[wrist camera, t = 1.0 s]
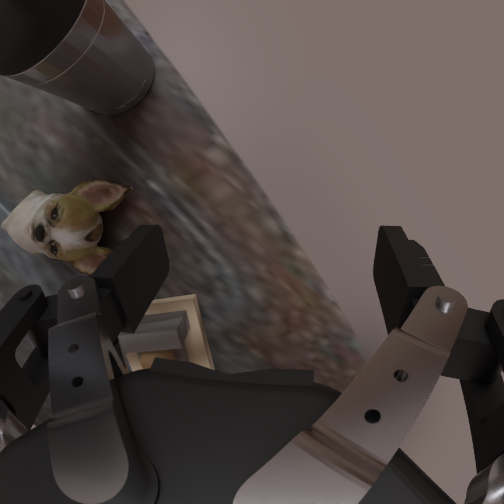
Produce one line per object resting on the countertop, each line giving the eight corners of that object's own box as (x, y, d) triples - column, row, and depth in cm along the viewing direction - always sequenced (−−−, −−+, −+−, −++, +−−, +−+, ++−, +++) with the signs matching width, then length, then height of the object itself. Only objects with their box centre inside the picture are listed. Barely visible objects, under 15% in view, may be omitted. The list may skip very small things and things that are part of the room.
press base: (117, 304, 35) (93, 328, 28) (196, 293, 35) (184, 319, 28) (172, 445, 40) (163, 478, 33) (236, 442, 40) (234, 477, 33)
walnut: (139, 348, 34) (128, 366, 30) (160, 329, 33) (150, 346, 29) (164, 371, 35) (155, 390, 31) (186, 353, 34) (179, 372, 30)
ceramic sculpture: (-7, 177, 23) (114, 182, 25) (35, 175, 32) (140, 181, 33) (-5, 276, 26) (109, 299, 27) (33, 257, 34) (134, 272, 35)
